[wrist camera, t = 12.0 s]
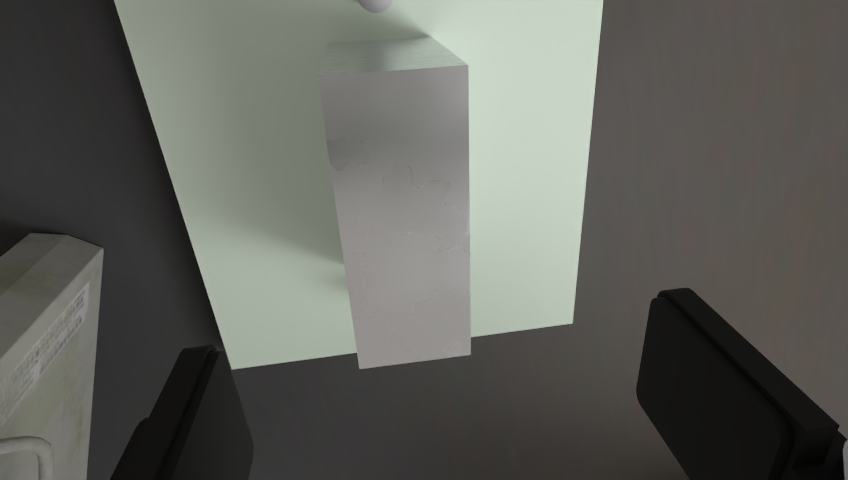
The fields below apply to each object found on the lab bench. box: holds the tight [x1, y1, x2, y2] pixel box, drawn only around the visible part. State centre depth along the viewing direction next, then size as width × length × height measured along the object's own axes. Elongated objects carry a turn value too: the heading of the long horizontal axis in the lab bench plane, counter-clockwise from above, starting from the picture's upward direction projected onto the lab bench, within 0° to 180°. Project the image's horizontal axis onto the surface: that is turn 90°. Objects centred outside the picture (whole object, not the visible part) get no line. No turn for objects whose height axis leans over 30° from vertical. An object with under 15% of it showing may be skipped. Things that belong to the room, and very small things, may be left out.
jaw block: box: [317, 36, 471, 369], centre depth 19 cm, size 4×10×7 cm, turn 3°
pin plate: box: [114, 0, 603, 369], centre depth 21 cm, size 18×20×4 cm
